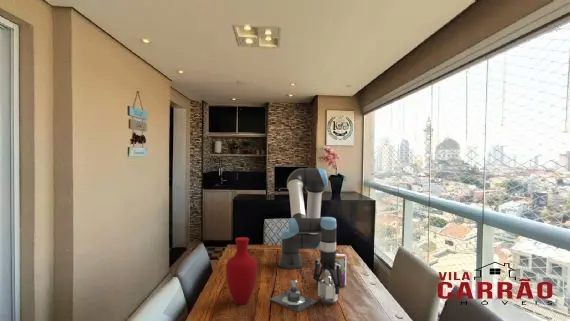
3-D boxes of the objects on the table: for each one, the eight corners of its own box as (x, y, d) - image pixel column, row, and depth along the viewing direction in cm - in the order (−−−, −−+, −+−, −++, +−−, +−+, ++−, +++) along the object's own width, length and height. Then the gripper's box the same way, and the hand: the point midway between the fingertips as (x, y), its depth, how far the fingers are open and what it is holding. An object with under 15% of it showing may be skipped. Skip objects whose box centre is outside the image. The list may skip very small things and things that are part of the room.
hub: (269, 300, 154) (270, 279, 154) (288, 292, 165) (289, 272, 165) (299, 312, 142) (299, 289, 142) (317, 302, 153) (317, 281, 153)
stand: (318, 301, 153) (319, 276, 154) (325, 297, 158) (326, 273, 158) (329, 305, 149) (329, 279, 150) (336, 301, 154) (336, 276, 154)
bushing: (315, 295, 153) (315, 282, 153) (325, 290, 160) (325, 278, 160) (330, 300, 148) (330, 287, 148) (339, 294, 154) (339, 282, 154)
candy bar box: (324, 284, 175) (324, 254, 175) (326, 281, 180) (326, 252, 180) (345, 287, 171) (345, 256, 171) (346, 284, 176) (346, 254, 176)
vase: (229, 311, 143) (230, 243, 143) (222, 298, 156) (223, 236, 157) (261, 305, 149) (262, 240, 149) (251, 293, 162) (252, 233, 162)
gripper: (306, 247, 158) (305, 294, 158) (342, 256, 144) (342, 307, 144) (315, 244, 164) (314, 289, 164) (351, 252, 150) (350, 301, 150)
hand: (327, 297), depth 154 cm, fingers closed on bushing, 8 cm apart
